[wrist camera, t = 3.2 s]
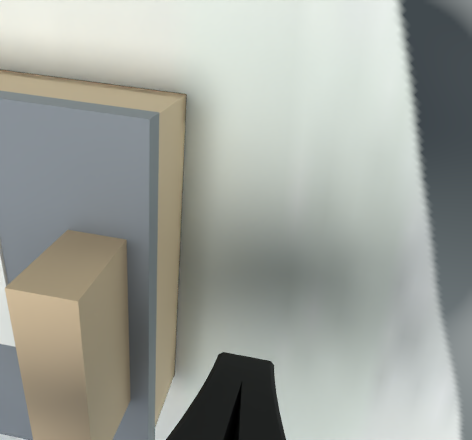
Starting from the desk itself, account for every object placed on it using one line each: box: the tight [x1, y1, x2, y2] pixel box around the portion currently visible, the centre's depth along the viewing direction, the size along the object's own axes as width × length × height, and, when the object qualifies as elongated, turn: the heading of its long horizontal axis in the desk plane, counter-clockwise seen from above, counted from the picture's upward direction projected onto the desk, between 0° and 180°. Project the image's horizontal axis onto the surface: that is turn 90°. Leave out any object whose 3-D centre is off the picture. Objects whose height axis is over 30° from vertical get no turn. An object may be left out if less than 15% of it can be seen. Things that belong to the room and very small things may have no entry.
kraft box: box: [0, 70, 186, 426], centre depth 15 cm, size 12×10×3 cm
